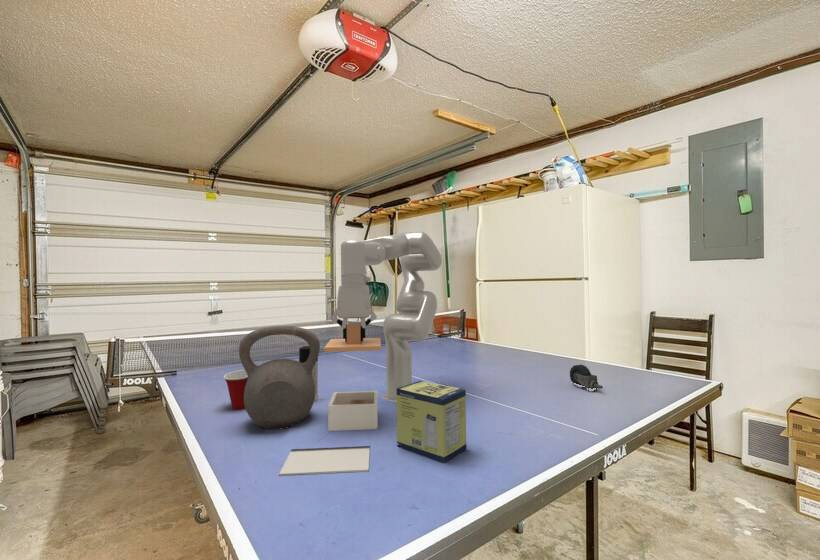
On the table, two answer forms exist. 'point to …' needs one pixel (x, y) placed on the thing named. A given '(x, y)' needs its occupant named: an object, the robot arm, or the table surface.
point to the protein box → (431, 420)
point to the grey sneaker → (583, 377)
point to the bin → (353, 411)
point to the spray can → (303, 358)
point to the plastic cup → (236, 387)
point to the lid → (353, 341)
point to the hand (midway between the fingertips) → (354, 340)
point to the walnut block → (360, 402)
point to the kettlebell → (279, 381)
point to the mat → (326, 460)
